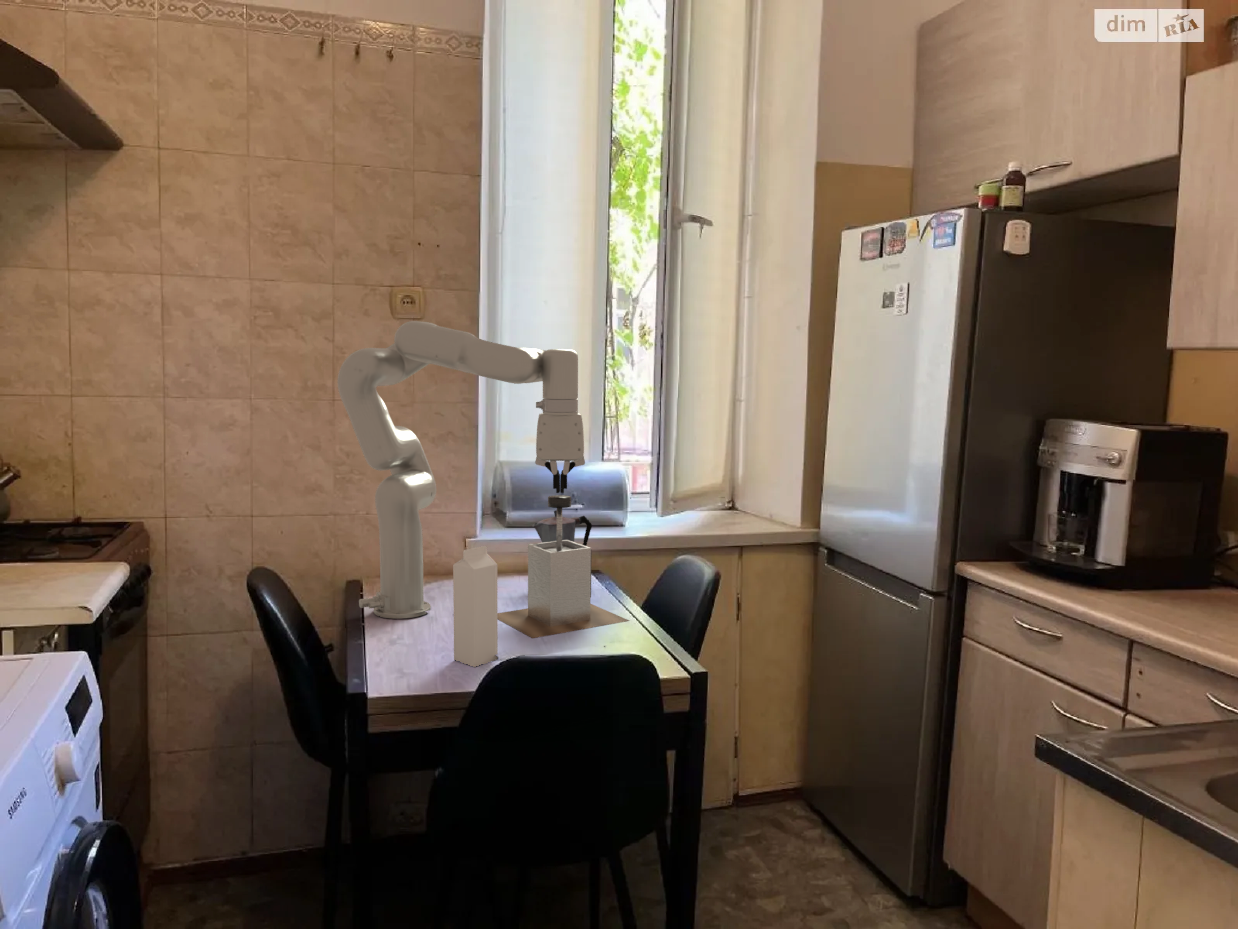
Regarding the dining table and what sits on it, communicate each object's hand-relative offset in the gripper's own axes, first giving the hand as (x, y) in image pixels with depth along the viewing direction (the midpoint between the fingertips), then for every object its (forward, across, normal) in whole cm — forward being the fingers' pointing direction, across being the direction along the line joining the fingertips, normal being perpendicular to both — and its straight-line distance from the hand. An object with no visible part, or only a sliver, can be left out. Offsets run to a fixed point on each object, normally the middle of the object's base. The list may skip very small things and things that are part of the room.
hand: (560, 492), depth 198 cm
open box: (+28, +1, +1) cm, 28 cm away
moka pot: (+29, 0, +31) cm, 42 cm away
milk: (+29, -15, -25) cm, 41 cm away
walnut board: (+29, 0, 0) cm, 29 cm away
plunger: (+14, 0, 0) cm, 14 cm away
